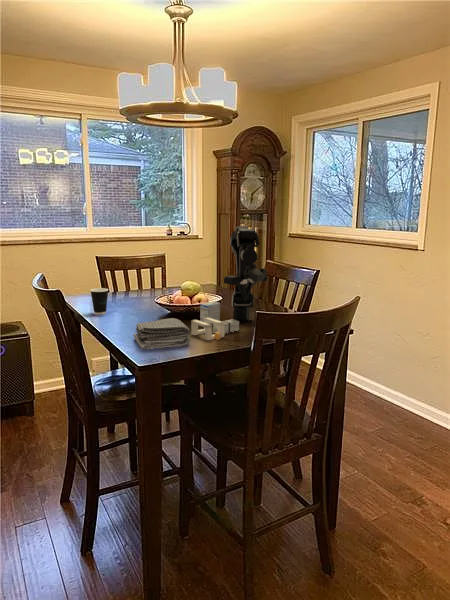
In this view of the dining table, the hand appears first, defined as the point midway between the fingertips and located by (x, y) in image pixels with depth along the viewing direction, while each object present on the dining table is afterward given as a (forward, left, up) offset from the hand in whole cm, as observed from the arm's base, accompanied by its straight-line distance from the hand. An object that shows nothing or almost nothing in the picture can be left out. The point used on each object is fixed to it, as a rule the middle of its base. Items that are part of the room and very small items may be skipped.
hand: (245, 299), depth 183 cm
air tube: (+10, 0, -12) cm, 15 cm away
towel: (+37, -4, -12) cm, 39 cm away
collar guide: (+19, 0, -12) cm, 22 cm away
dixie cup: (+36, -58, -12) cm, 69 cm away
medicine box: (+7, -14, -12) cm, 20 cm away
